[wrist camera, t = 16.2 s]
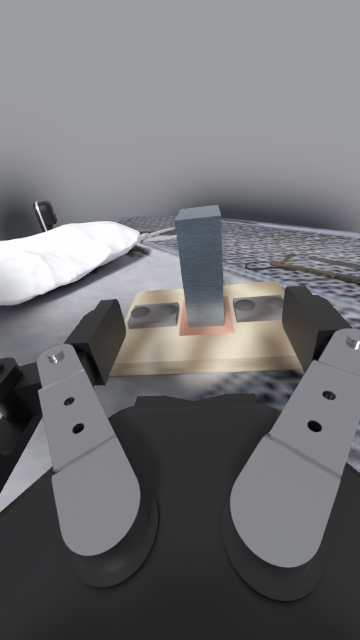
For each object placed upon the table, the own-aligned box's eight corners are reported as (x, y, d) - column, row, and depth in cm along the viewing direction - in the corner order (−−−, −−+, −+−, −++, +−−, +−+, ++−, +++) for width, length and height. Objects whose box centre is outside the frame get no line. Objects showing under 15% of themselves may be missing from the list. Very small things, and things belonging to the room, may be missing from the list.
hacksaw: (466, 290, 28) (472, 277, 27) (432, 327, 23) (439, 314, 22) (279, 251, 45) (279, 243, 44) (239, 269, 41) (239, 260, 40)
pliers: (188, 229, 61) (130, 243, 57) (189, 236, 62) (131, 250, 58) (172, 224, 69) (120, 235, 65) (173, 229, 70) (121, 242, 66)
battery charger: (66, 248, 65) (48, 201, 59) (50, 252, 64) (31, 203, 58) (66, 243, 71) (50, 199, 65) (52, 246, 70) (34, 201, 64)
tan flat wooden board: (108, 376, 23) (100, 355, 21) (140, 301, 34) (136, 285, 33) (319, 368, 20) (325, 344, 19) (276, 291, 32) (278, 273, 31)
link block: (188, 327, 25) (174, 220, 19) (190, 302, 29) (180, 209, 23) (224, 325, 24) (220, 215, 19) (221, 300, 28) (217, 204, 23)
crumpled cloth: (-58, 284, 47) (-93, 237, 41) (116, 238, 61) (107, 198, 55) (-69, 362, 32) (-129, 305, 26) (165, 276, 46) (161, 227, 40)
